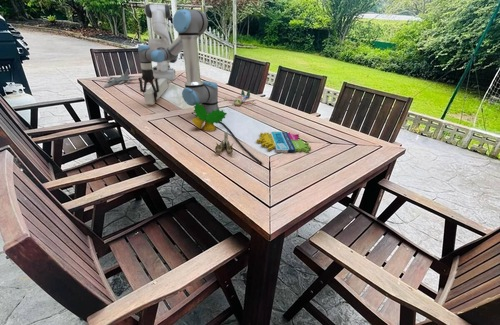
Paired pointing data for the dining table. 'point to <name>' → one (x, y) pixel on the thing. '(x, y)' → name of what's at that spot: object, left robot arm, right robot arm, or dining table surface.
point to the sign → (283, 142)
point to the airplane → (119, 79)
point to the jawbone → (224, 145)
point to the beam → (162, 87)
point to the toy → (241, 99)
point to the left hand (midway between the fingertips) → (164, 83)
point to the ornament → (207, 117)
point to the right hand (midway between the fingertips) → (151, 101)
